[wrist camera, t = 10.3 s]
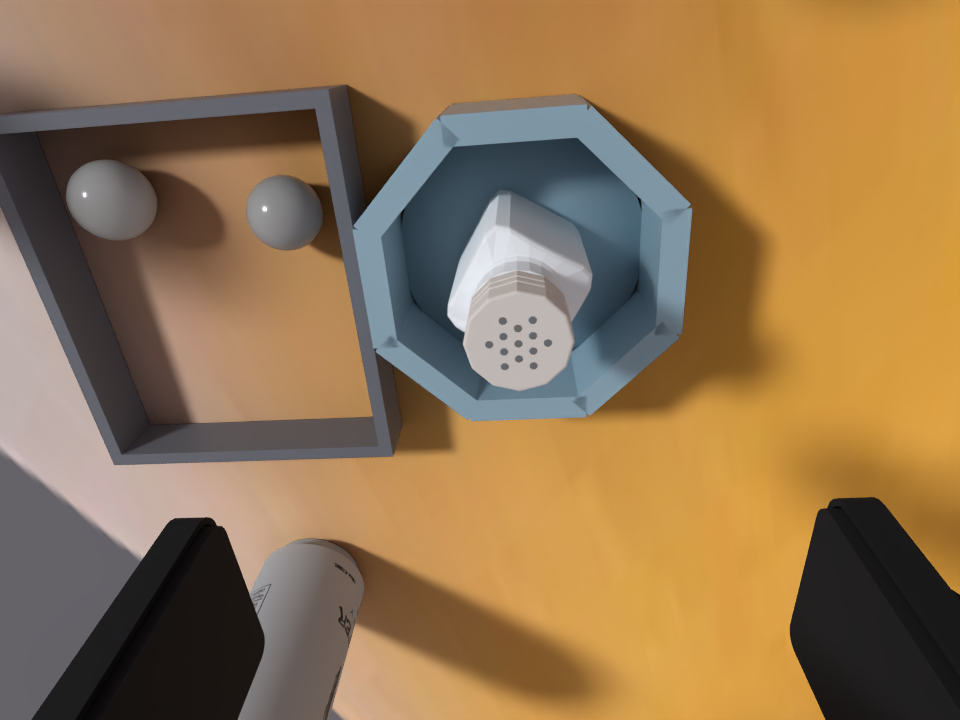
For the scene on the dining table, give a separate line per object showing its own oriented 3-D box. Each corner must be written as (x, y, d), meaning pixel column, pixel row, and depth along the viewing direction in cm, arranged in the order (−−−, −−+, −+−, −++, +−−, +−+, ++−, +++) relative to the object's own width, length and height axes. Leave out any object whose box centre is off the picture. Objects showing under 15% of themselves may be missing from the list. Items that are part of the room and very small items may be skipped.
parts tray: (13, 112, 25) (-38, 119, 23) (346, 84, 24) (328, 89, 21) (142, 435, 32) (114, 465, 30) (402, 425, 31) (392, 456, 29)
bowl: (363, 110, 24) (333, 124, 20) (670, 86, 23) (701, 95, 19) (403, 374, 30) (386, 424, 26) (653, 363, 29) (675, 413, 25)
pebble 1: (86, 156, 26) (32, 170, 23) (158, 150, 25) (112, 164, 23) (113, 230, 27) (65, 252, 24) (181, 226, 27) (141, 247, 24)
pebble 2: (255, 171, 26) (224, 186, 23) (324, 166, 25) (301, 180, 23) (271, 240, 27) (244, 262, 24) (337, 236, 27) (317, 258, 24)
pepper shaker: (536, 304, 27) (545, 423, 19) (455, 264, 26) (426, 368, 18) (583, 225, 25) (616, 317, 17) (497, 180, 25) (487, 252, 16)
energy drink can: (350, 616, 38) (260, 924, 25) (257, 585, 37) (113, 886, 24) (381, 552, 35) (300, 859, 22) (282, 517, 35) (135, 814, 21)
